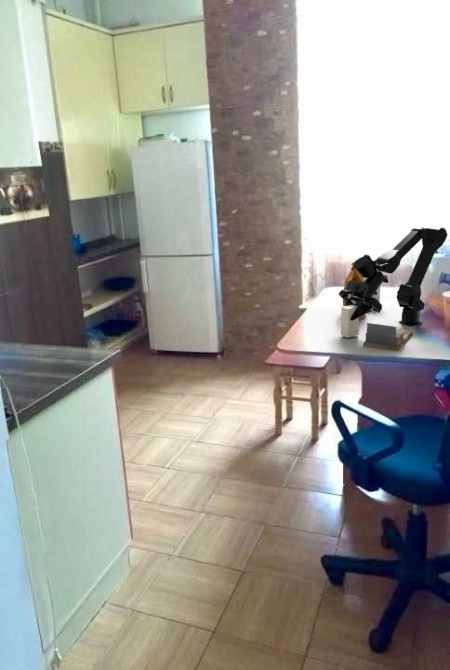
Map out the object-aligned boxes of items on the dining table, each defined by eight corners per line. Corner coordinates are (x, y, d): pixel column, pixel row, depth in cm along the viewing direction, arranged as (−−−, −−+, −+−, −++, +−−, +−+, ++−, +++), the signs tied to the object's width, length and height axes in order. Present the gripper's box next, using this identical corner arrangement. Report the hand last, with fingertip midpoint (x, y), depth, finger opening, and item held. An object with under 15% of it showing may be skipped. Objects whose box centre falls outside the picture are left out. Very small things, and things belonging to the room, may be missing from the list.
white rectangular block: (351, 332, 210) (351, 304, 207) (358, 335, 207) (359, 306, 203) (340, 335, 208) (341, 306, 205) (347, 337, 205) (348, 309, 201)
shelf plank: (380, 330, 212) (380, 319, 211) (412, 334, 206) (413, 323, 205) (363, 346, 197) (363, 334, 195) (397, 351, 190) (397, 338, 189)
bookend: (367, 341, 196) (367, 323, 194) (395, 345, 191) (396, 326, 189) (366, 342, 196) (367, 323, 194) (394, 346, 191) (395, 326, 189)
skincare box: (362, 306, 246) (363, 280, 243) (367, 304, 249) (368, 278, 245) (374, 308, 242) (375, 282, 238) (379, 306, 245) (380, 280, 241)
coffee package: (340, 319, 230) (341, 266, 223) (343, 311, 241) (344, 261, 234) (365, 320, 227) (366, 267, 220) (366, 311, 238) (368, 261, 231)
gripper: (342, 268, 210) (319, 301, 208) (377, 276, 194) (352, 312, 193) (358, 285, 216) (335, 317, 214) (393, 294, 200) (368, 329, 198)
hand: (347, 318), depth 205 cm, fingers closed on white rectangular block, 4 cm apart
